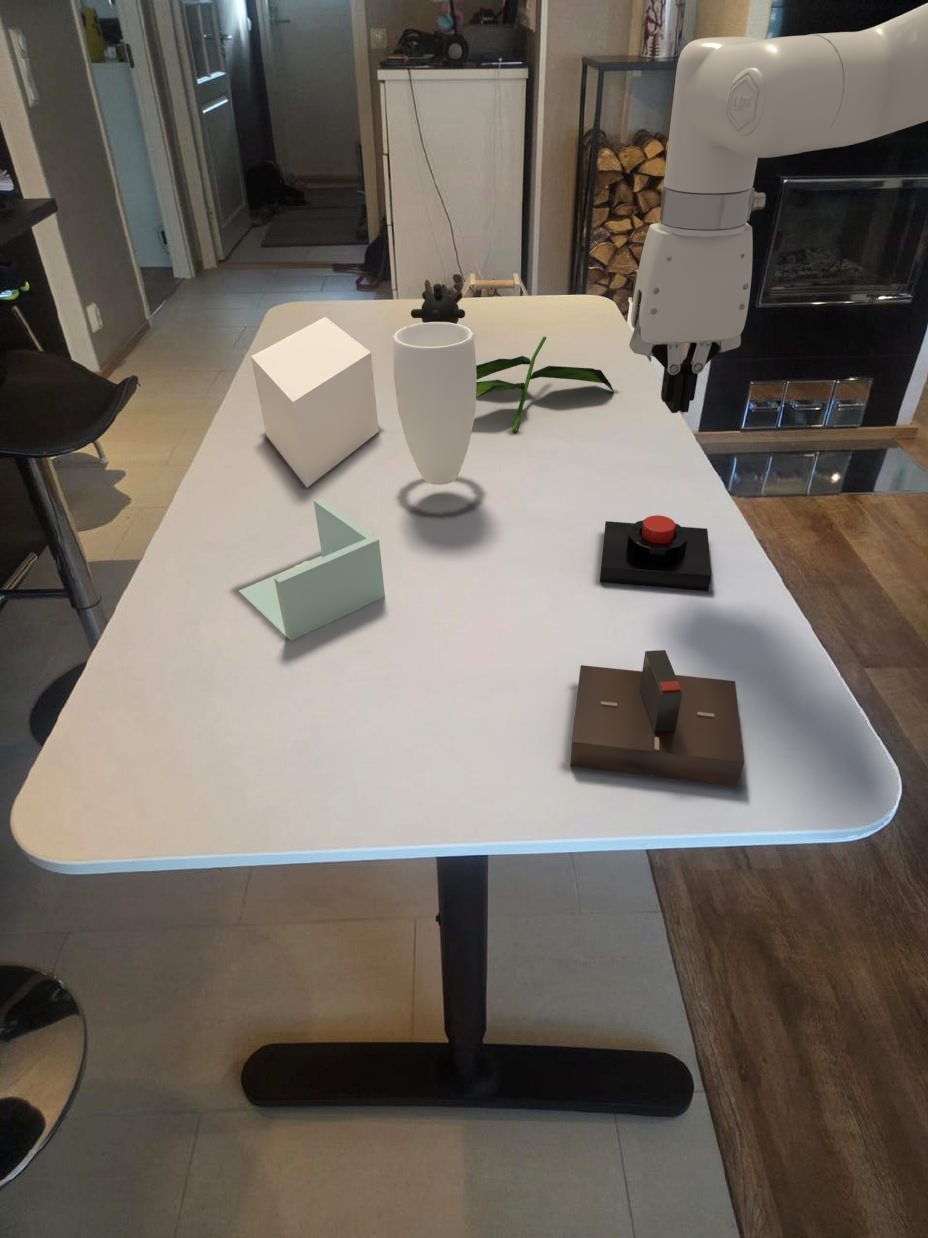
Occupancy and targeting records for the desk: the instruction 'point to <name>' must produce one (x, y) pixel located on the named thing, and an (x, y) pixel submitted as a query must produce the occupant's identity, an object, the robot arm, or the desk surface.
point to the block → (316, 397)
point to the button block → (656, 558)
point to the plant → (531, 376)
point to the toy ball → (439, 307)
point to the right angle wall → (323, 578)
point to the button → (658, 529)
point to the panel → (626, 740)
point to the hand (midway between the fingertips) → (675, 407)
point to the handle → (660, 691)
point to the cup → (436, 395)
